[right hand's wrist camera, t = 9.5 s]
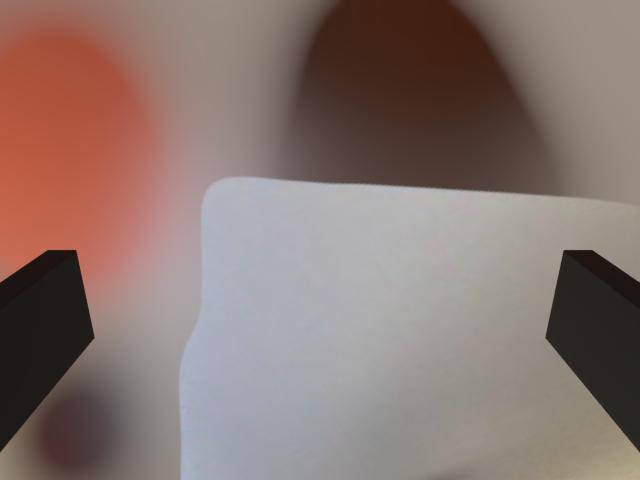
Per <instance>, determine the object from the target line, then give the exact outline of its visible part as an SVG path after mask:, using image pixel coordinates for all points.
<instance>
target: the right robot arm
mask: <svg viewBox="0 0 640 480" xmlns="http://www.w3.org/2000/svg"><path fill="white" fill-rule="evenodd" d="M545 338H546V339H547V340H548V341H549V343H550V344H551V345H552V346H553V347H554V349H555V350H556V351H557V352H558V354H559V355H560V356H561V357H562V358H563V360H564V361H565V362H566V363H567V365H568V366H569V367H570V368H571V369H572V371H573V372H574V373H575V374H576V375H577V377H578V378H579V379H580V380H581V382H582V383H583V384H584V385H585V386H586V388H587V389H588V390H589V391H590V392H591V394H592V395H593V396H594V397H595V399H596V400H597V401H598V402H599V403H600V405H601V406H602V407H603V408H604V409H605V411H606V412H607V413H608V414H609V416H610V417H611V418H612V419H613V420H614V422H615V423H616V424H617V425H618V426H619V428H620V429H621V430H622V431H623V433H624V434H625V435H626V436H627V437H628V439H629V440H630V441H631V442H632V443H633V445H634V446H635V447H636V448H637V450H638V451H639V452H640V282H638V281H637V280H635V279H634V278H632V277H631V276H629V275H628V274H626V273H625V272H623V271H622V270H621V269H619V268H618V267H616V266H615V265H613V264H612V263H610V262H609V261H607V260H606V259H604V258H603V257H602V256H600V255H599V254H597V253H596V252H594V251H593V250H564V252H563V256H562V261H561V266H560V271H559V275H558V280H557V285H556V290H555V294H554V299H553V304H552V309H551V314H550V318H549V323H548V328H547V333H546V337H545ZM93 339H94V333H93V328H92V323H91V319H90V314H89V309H88V304H87V299H86V294H85V290H84V285H83V280H82V275H81V271H80V266H79V261H78V256H77V252H76V250H47V251H46V252H44V253H43V254H41V255H40V256H38V257H37V258H36V259H34V260H33V261H31V262H30V263H28V264H27V265H25V266H24V267H22V268H21V269H19V270H18V271H17V272H15V273H14V274H12V275H11V276H9V277H8V278H6V279H5V280H3V281H2V282H1V283H0V452H1V451H2V450H3V448H4V447H5V446H6V445H7V443H8V442H9V441H10V440H11V439H12V437H13V436H14V435H15V434H16V433H17V431H18V430H19V429H20V428H21V426H22V425H23V424H24V423H25V422H26V420H27V419H28V418H29V417H30V416H31V414H32V413H33V412H34V411H35V409H36V408H37V407H38V406H39V404H40V403H41V402H42V401H43V400H44V399H45V397H46V396H47V395H48V394H49V392H50V391H51V390H52V389H53V388H54V386H55V385H56V384H57V383H58V381H59V380H60V379H61V378H62V377H63V375H64V374H65V373H66V372H67V371H68V369H69V368H70V367H71V366H72V364H73V363H74V362H75V361H76V360H77V358H78V357H79V356H80V355H81V354H82V352H83V351H84V350H85V349H86V347H87V346H88V345H89V344H90V343H91V341H92V340H93Z"/></svg>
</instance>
